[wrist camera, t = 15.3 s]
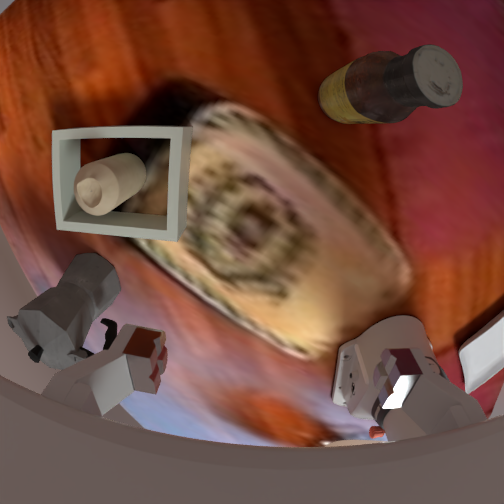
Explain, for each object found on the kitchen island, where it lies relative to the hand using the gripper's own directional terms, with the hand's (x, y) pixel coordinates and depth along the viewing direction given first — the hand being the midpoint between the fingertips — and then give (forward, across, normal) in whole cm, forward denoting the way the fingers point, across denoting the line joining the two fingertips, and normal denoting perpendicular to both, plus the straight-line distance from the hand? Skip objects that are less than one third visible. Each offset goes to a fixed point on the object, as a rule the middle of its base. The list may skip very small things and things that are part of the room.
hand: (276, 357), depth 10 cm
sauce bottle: (+28, -7, -13) cm, 31 cm away
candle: (+27, +18, -1) cm, 32 cm away
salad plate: (+31, -54, +24) cm, 66 cm away
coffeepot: (+27, +23, +15) cm, 38 cm away
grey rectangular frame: (+27, +18, -1) cm, 32 cm away
